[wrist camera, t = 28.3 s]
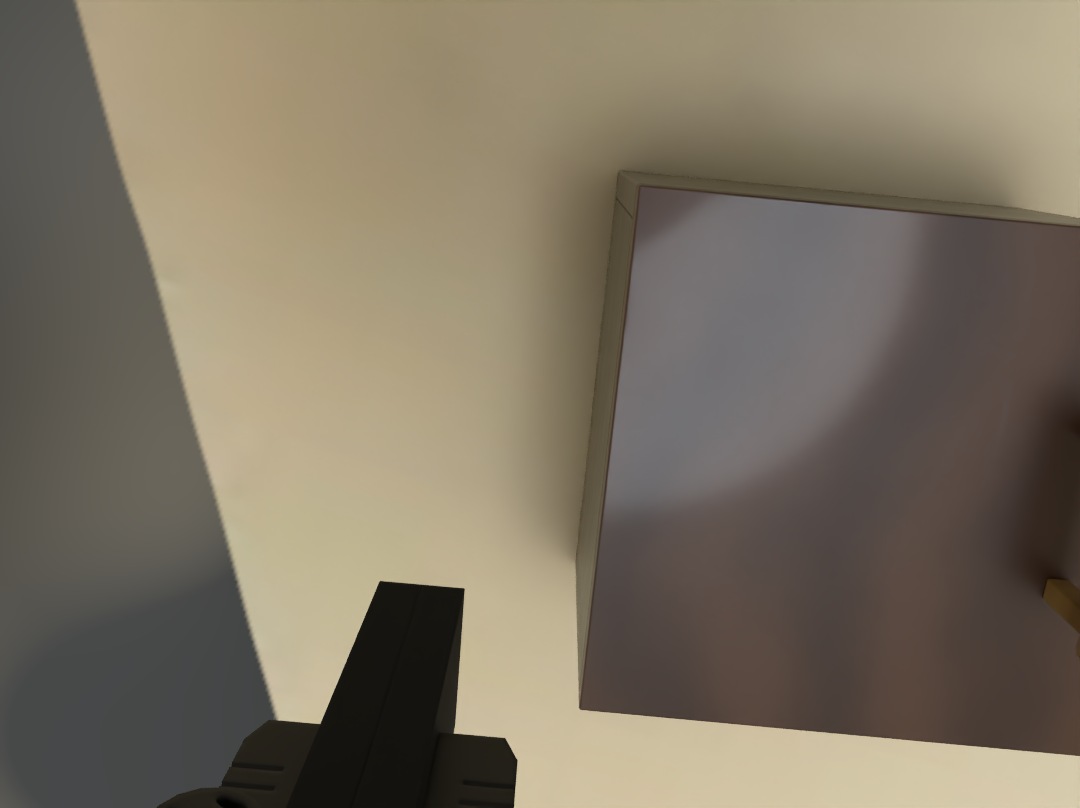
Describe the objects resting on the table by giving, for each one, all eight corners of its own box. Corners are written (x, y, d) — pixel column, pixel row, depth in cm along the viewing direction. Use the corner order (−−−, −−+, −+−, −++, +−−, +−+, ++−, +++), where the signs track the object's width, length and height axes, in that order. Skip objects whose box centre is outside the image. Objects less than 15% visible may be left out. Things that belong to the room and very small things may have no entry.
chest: (1018, 207, 37) (1176, 233, 28) (935, 598, 41) (1047, 738, 32) (618, 170, 37) (636, 182, 28) (575, 564, 41) (578, 694, 32)
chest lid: (1205, 236, 28) (1347, 259, 23) (1072, 741, 32) (1166, 853, 27) (637, 182, 28) (653, 194, 23) (578, 695, 32) (581, 799, 27)
